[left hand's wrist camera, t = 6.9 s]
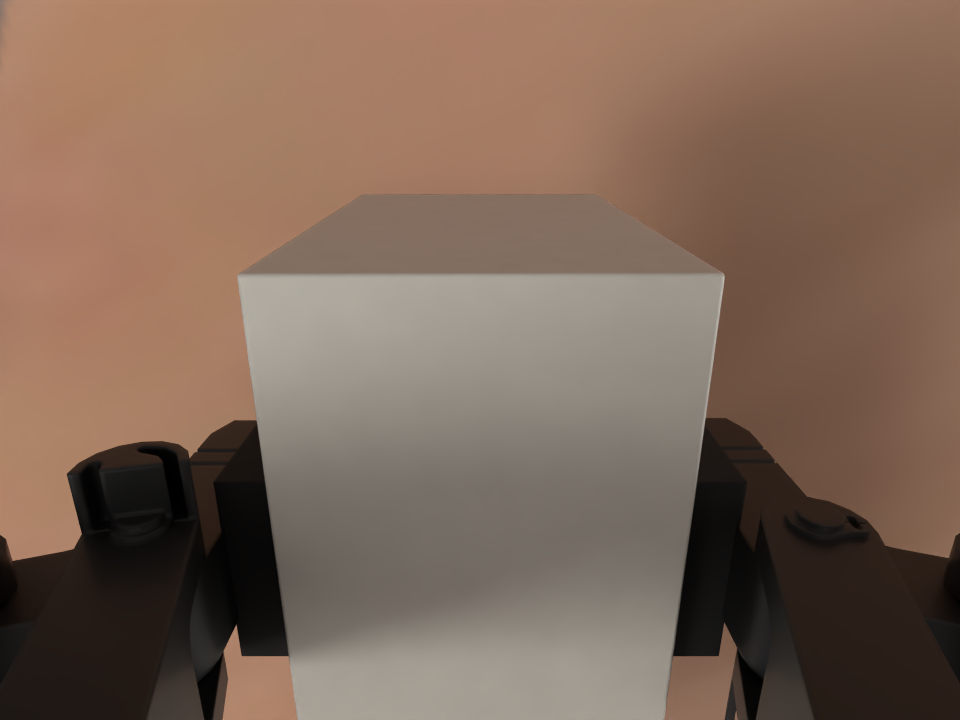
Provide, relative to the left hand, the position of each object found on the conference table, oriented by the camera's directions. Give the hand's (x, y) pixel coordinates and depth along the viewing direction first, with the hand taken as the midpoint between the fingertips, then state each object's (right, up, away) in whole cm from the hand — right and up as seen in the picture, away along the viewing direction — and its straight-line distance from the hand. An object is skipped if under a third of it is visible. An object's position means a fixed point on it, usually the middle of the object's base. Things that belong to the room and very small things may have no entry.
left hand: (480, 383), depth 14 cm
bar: (0, -25, +10) cm, 27 cm away
